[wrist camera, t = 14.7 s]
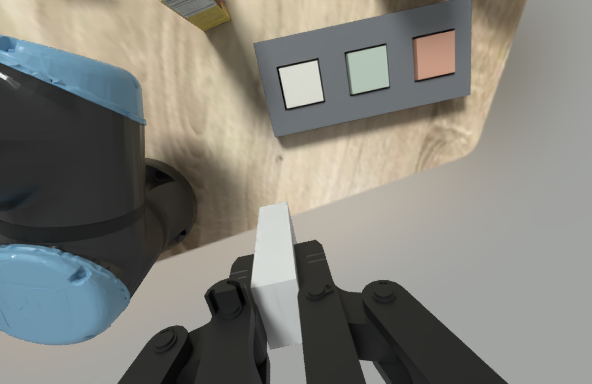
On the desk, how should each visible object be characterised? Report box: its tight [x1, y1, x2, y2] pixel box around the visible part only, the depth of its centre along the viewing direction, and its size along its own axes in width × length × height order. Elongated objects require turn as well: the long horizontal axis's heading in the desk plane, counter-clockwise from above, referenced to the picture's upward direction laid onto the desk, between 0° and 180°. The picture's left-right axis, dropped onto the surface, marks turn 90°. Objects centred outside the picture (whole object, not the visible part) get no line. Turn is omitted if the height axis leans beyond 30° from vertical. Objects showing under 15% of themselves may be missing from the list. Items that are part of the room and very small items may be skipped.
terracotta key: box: [412, 30, 455, 80], centre depth 39 cm, size 5×5×3 cm
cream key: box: [279, 61, 324, 108], centre depth 39 cm, size 5×5×3 cm
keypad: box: [253, 0, 472, 137], centre depth 39 cm, size 28×12×3 cm, turn 102°
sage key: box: [345, 45, 389, 94], centre depth 39 cm, size 5×5×3 cm
